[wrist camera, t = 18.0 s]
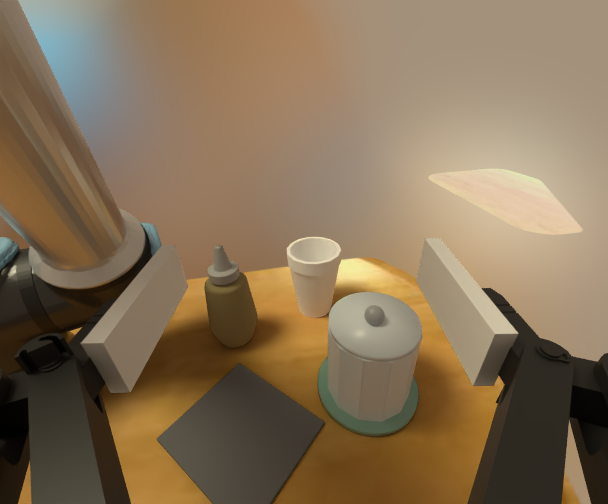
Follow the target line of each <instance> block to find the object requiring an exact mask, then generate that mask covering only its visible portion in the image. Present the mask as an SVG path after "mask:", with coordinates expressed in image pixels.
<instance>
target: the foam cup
mask: <svg viewBox="0 0 608 504" xmlns="http://www.w3.org/2000/svg"><path fill="white" fill-rule="evenodd" d="M287 258H288V267H290V271H291V275H292V279H293V284H294V288H295V293H296V297H297V302H298V306H299V310H300V312H301V313H302V314H303V315H305V316H308V317H312V318H318V317H322V316H325V315H326V314H327V313H329V311H330V309H331V305H332V300H333V295H334V289H335V284H336V278H337V273H338V268H339V264H340V262H341V249H340V246H339V244H337V243H336V242H334V241H332V240H331V239H327V238H323V237H307V238H303V239H298V240H296V241H294V242H293V243H291V244H290V245H289V247H288V248H287Z"/></svg>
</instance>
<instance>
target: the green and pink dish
mask: <svg viewBox="0 0 608 504" xmlns="http://www.w3.org/2000/svg"><path fill="white" fill-rule="evenodd" d="M318 392H319V396H320V400H321V402H322V404H323V406H324V408H325V410H326V411H327V413H328V414H329V415H330V416H331V417H332V418H333V419H334V420H335V421H336V422H337V423H338V424H339V425H341V426H342V427H344V428H346V429H347V430H349V431H351V432H354V433H356V434H360V435H364V436H370V437H380V436H386V435H390V434H393V433H395V432H398V431H399V430H401V429H402V428H404V427H405V426H406V425H407V424H408V423H409V422H410V420H411V419H412V417H413V416H414V414H415V411H416V408H417V404H418V398H419V396H418V386H417V382H416V379H415V377H414V375H413V379H412V383H411V387H410V392H409V396H408V398H407V400H406V402H405V404H404V406H403V408H402V411H401V413H399V414H397V415H395V416H393V417H391V418H389V419H387V420H385V421H383V422H376V421H365V420H357V419H356V418H354V417H353V416H351V415H350V414H348V413H347V412H345V411H343V410H342V409H340V408H339V407H338V406H337V404H336V402H335V401H334V399H333V397H332V395H331V394H330V392H329V390H328V357H327V358H326V359H325V360H324V362H323V363H322V366H321V368H320V371H319V375H318Z"/></svg>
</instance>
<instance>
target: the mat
mask: <svg viewBox="0 0 608 504" xmlns="http://www.w3.org/2000/svg"><path fill="white" fill-rule="evenodd" d="M323 425H324V421H323V420H321V419H320V418H318V417H317V416H315V415H314V414H312V413H311V412H310V411H308V410H307V409H305V408H304V407H302V406H301V405H299V404H298V403H297V402H295V401H294V400H292V399H291V398H289V397H288V396H286V395H285V394H284V393H282V392H281V391H279V390H278V389H276V388H275V387H274V386H272V385H271V384H269V383H268V382H266V381H265V380H263V379H262V378H261V377H259V376H258V375H256V374H255V373H253V372H252V371H250V370H249V369H248V368H246V367H245V366H243V365H242V364H240V363H239V364H238V365H237V366H236V367H234V368H233V369H232V370H231V371H230V372H229V373H228V374H227V375H226V376H225V377H224V378H222V379H221V380H220V381H219V382H218V383H217V384H216V385H215V386H214V387H213V388H212V389H210V390H209V391H208V392H207V393H206V394H205V395H204V396H203V397H202V398H201V399H200V400H198V401H197V402H196V403H195V404H194V405H193V406H192V407H191V408H190V409H189V410H188V411H186V412H185V413H184V414H183V415H182V416H181V417H180V418H179V419H178V420H177V421H176V422H174V423H173V424H172V425H171V426H170V427H169V428H168V429H167V430H166V431H165V432H164V433H163V434H161V435H160V436H159V437H158V438H157V441H158V442H159V443H160V444H161V445H162V446H163V447H164V449H165V450H166V451H167V452H168V453H169V454H170V455H171V457H172V458H173V459H174V460H175V461H176V462H177V463H178V464H179V466H180V467H181V468H182V469H183V470H184V471H185V472H186V474H187V475H188V476H189V477H190V478H191V479H192V480H193V482H194V483H195V484H196V485H197V486H198V487H199V488H200V490H201V491H202V492H203V493H204V494H205V495H206V496H207V497H208V499H209V500H210V501H211V502H212V503H213V504H271V503H272V501H273V500H274V498H275V497H276V495H277V494H278V492H279V491H280V489H281V488H282V486H283V485H284V483H285V482H286V480H287V479H288V477H289V476H290V474H291V473H292V471H293V470H294V468H295V467H296V465H297V464H298V462H299V461H300V459H301V458H302V456H303V455H304V453H305V452H306V450H307V449H308V447H309V446H310V444H311V443H312V441H313V440H314V438H315V437H316V435H317V434H318V432H319V431H320V429H321V428H322V426H323Z"/></svg>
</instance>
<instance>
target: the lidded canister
mask: <svg viewBox="0 0 608 504" xmlns="http://www.w3.org/2000/svg"><path fill="white" fill-rule="evenodd" d="M421 333H422V326H421V322H420V320H419V318H418V316H417V314H416V313H415V312H414V311H413V310H412V309H411V308H410V307H409V306H408V305H407V304H405V303H404V302H402V301H401V300H399V299H397V298H394V297H392V296H389V295H386V294H382V293H376V292H360V293H354V294H350V295H348V296H345V297H343V298H342V299H340V300H339V301H337V302H336V303H335V304H334V306H333V307H332V309H331V311H330V313H329V326H328V390H329V392H330V394H331V395H332V397H333V399H334V401H335V402H336V404H337V406H338V407H339V408H340V409H342V410H343V411H345V412H347V413H348V414H350V415H351V416H353V417H354V418H356V419H357V420H365V421H376V422H383V421H385V420H387V419H389V418H391V417H393V416H395V415H397V414H399V413H401V411H402V408H403V406H404V404H405V402H406V400H407V398H408V396H409V392H410V387H411V383H412V379H413V374H414V370H415V366H416V362H417V357H418V353H419V349H420V344H421V340H422V334H421Z"/></svg>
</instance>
